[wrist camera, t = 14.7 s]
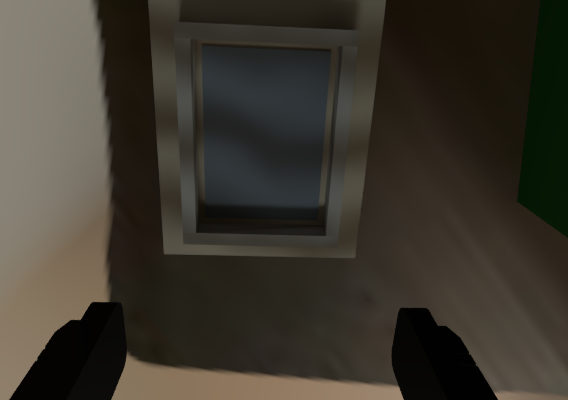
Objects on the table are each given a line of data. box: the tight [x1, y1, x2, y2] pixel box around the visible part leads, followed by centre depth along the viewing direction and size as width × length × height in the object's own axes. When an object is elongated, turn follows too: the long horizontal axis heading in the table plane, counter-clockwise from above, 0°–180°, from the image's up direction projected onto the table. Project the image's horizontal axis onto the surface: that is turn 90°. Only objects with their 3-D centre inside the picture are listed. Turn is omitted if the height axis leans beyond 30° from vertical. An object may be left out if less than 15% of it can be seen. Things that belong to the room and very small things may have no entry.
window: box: [148, 0, 386, 258], centre depth 33 cm, size 20×16×3 cm
